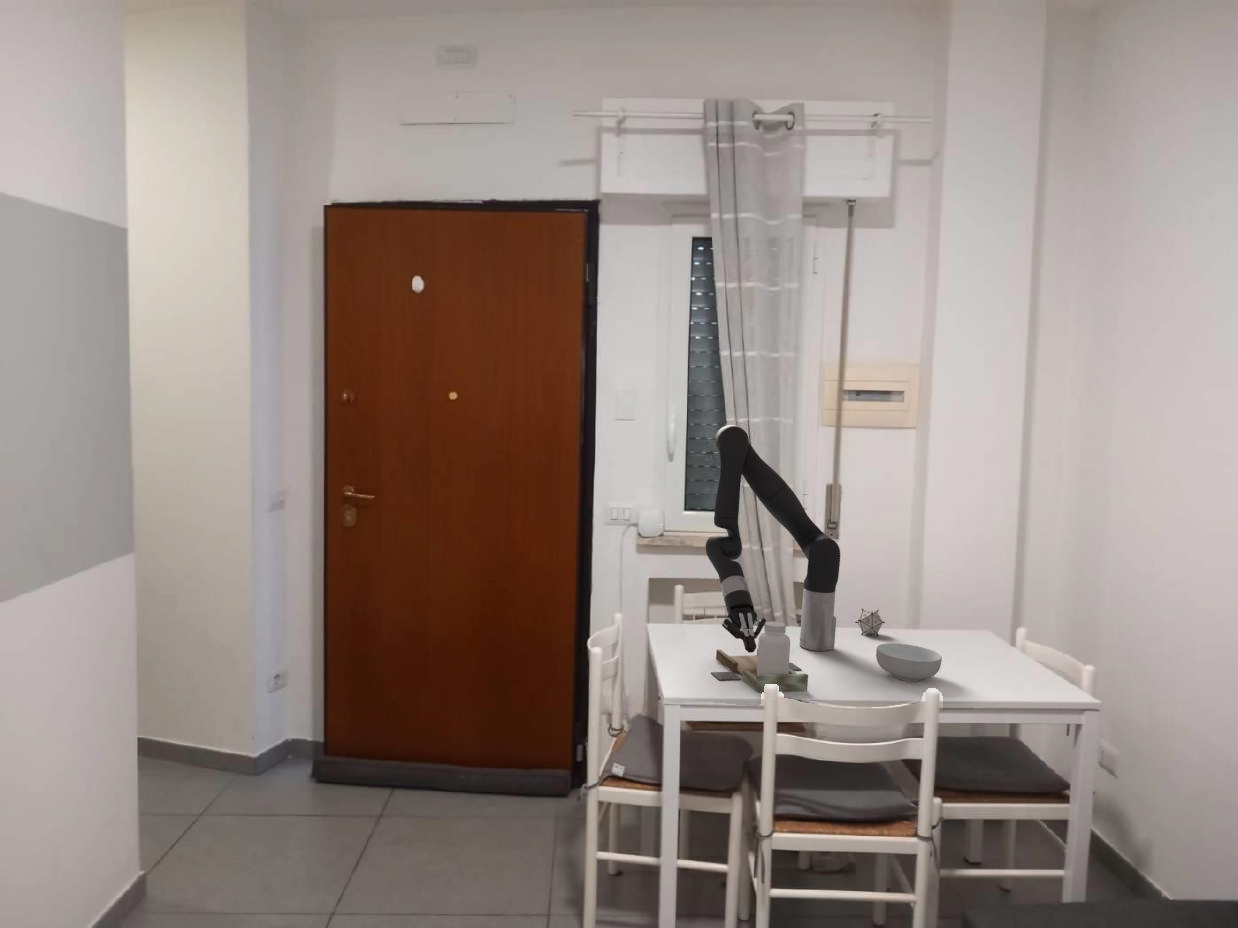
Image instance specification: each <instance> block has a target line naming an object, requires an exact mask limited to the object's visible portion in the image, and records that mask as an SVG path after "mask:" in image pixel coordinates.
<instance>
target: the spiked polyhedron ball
mask: <svg viewBox="0 0 1238 928" xmlns="http://www.w3.org/2000/svg"><path fill="white" fill-rule="evenodd" d="M878 612H879V609H877V610H876V611H875V610H872V611H871V610H864V608H861V614H860V616H859V617H858V619H857V621H854V623H855V624H857V625H858V626H859V628H860V631H861V634H860V635H861V636H863V635H864V634H867V635H868V634H869V635H870V634H871V635H876V636H877V637H879V634H878V633H879V631H880V629H881V627H882V625H883V624H885V623H886V621H883V620H882V617H881V616H880V615H879V613H878Z"/></svg>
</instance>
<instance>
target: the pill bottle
mask: <svg viewBox="0 0 1238 928" xmlns="http://www.w3.org/2000/svg"><path fill="white" fill-rule="evenodd" d="M786 626H787V625H786V623H783V622H780V621H766V622H765V624H764V626H763V628H764V632H762V633H760V634H759V635H758V644H757V649H758V660H757V675H777V674H789V663H790V656H791V655H790V653H791V639H790V637H789V636H788V635H787V634H786V631H787V627H786Z"/></svg>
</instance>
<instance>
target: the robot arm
mask: <svg viewBox="0 0 1238 928" xmlns="http://www.w3.org/2000/svg"><path fill="white" fill-rule="evenodd" d="M714 442H715V447H716V449H717V450H718V452H719V457H720V469H719V470H720V472H719V479H718V486H717V491H716V495H715V496H716V497H715V504H714V516H713V517H714V518H713V524H714V526H715V527H717V528H721V529H724V530H726V532H727V535H712V536H709V537H708V538H707V540H706V542H705V553H706V555H707V556H706V557H707V558H708V560H709V561H710V563H711V564H712V566H713V568H714V569H715V571H716V572H717V575H718V577H719V578H718V579H719V583H720V586H721V593H722V598H723V600H724V601H723V602H724V604H725V609H726V612H727V616H726V617H727V618H725V619H724V620H723V621H722V623H721V626H722V627H723V629H725V630H726V632H728V633H729V634H731V636H732V637H734V638H735V639H737V640H738V639H739V640H741V641H742V642H743V645H744V646H743V647H744V650H745V651H747V653H754V652H755V651H756V649H757V644H756V639H757V638H758V637H759V636H760V635H761V631H762V630H763V628H764V626H765V623H766V622H767V619H766V618H765V617H762V618H761V617H759V616H758V614H757V612H756V611H755V607H754V603H753V599H752V596H751V592H750V589H749V585H748V583H747V581H746V578H745V574H744V571H743V568H742V565H741V563H740V562H739V561H736V560H737V559H739V558H740V557H741V555H742V553H743V546H742V545H743V543H742V539H741V535H740V528H739V513H740V499H741V481H742V478H744V480H745V481H746V482H747V485H748V486H749V487H750V489H751V490H752V492H753V493H754V494H755V496H756V497H757V498H758V500H759V501H760V503H761V504H762V506H764V507H765V509H766V510H767V511H768V512H769V513H770V514H771V516H772V517H773V518H774V519H775V520H776V521H777V522H778V523H779V524H780V525H781V526H782V527H783V528H785V529H786V530H787V532H788V533H789V534H790V536H792V537H793V539H794V541H795V542H796V543H797V545H798V546H799V548H800V549H801V552H802V553H803V555H804V557H806V560H807V569H806V576H805V578H804V579H803V589H802V590H803V591H802V605H801V620H800V621H801V622H800V636H799V646H800V647H801V648H803V649H806V650H810V651H816V652H820V651H821V652H824V651H825V652H826V651H830V650H835V643H836V641H835V640H836V629H837V628H836V627H837V617H836V616H835V615H834V614H835V602H836V601H835V600H836V588H837V585H838V582H839V573H840V567H841V566H840V565H841V549H840V546H839V544H838V543H837V541H835V540H834V539H832V538H831V537H829V536H828V535H827V534H825V533H824V532H823V531H822V530H821V528H819V526H817V525H816V524H815V523H814V522H813V520H811V518H810V516H809V515H808V514H807V512H806V510H805V509H804V506H803V505H802V503H801V501H800V499H799V498H798V496H797V495H796V493H795V492H794V491H793V490H792V488H791V487H790V486H789V485H788V483H787V482H786V480H784V479H783V477H782V476H781V475H780V474H779V473H778V472H776V471H775V470H774V469H773V468H772V467H771V466H770V465H769V464H768V463H767V462H765V461H764V459H762V458H761V457H760V456H759V454H758V453H757V451H756V450H755V449H754V447H753V446H752V444H751V443H750V439H749V435H748V433H747V431H746V430H744V428H742V427H741V426H739V425H734V424H731V425H730V424H727V425H724V426H722V427H721V428H720V429H718V431H717V432H716V434H715V438H714ZM742 476H743V477H742ZM755 622H756V623H755ZM754 625H756V627H755V626H754ZM754 627H755V628H756V629H755V630H754Z"/></svg>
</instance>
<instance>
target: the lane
mask: <svg viewBox="0 0 1238 928" xmlns="http://www.w3.org/2000/svg"><path fill="white" fill-rule="evenodd" d="M756 649H757V650H756V651H757V652H756V655H755V654H754V655H753V654H752V655H751V654H750V655H728V654H727V653H725V651H723V650H722V649H716V653H715V654H716V655H715V659H716V660H717V661H718V662H720V663H721V664H722V665H724V666H725V667H726V668H727V669H728V670H730V671H711V672H710V674H711V675H712V676H713V677H714V678H715V679H716V680H718V681H720V682H723V681H741V680H742V681H743V682H744V683H745V684H746V685H747V686H749V687H750V688H751V689H753V690H754V691H755V692H757V693H760V694H761V693H765V692H764V686H765V684H777V685H778V686H779V692H778V693H784V692H785V693H787V692H803V691H804V692H807V691H808V684H809V683H808V682H809V674H808V673H797V671H802V668H800V667H798V666H797V665H796V664H795V663H793V662H789V674H777V675H757V660H758V648H756ZM736 673H737V674H738V675H737V674H736ZM739 675H740V676H741V677H742V678H741V677H739Z"/></svg>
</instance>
